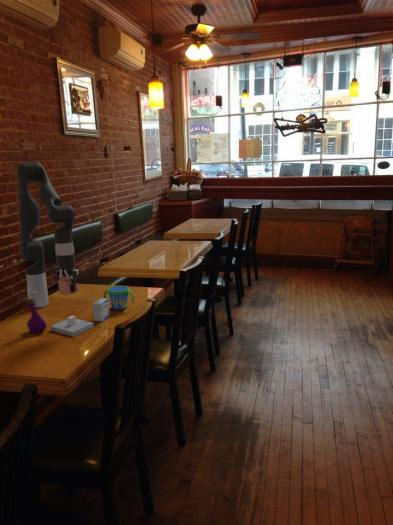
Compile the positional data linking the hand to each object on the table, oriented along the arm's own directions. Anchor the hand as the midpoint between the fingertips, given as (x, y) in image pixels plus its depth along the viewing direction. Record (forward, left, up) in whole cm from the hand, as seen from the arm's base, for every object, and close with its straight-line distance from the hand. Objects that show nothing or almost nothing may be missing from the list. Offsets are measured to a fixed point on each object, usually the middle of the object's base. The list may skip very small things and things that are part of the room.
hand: (68, 291), depth 184 cm
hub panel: (0, 0, -17) cm, 17 cm away
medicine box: (+2, +16, -17) cm, 24 cm away
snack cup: (-1, +31, -17) cm, 36 cm away
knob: (0, 0, -1) cm, 1 cm away
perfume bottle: (-11, -10, -17) cm, 23 cm away
